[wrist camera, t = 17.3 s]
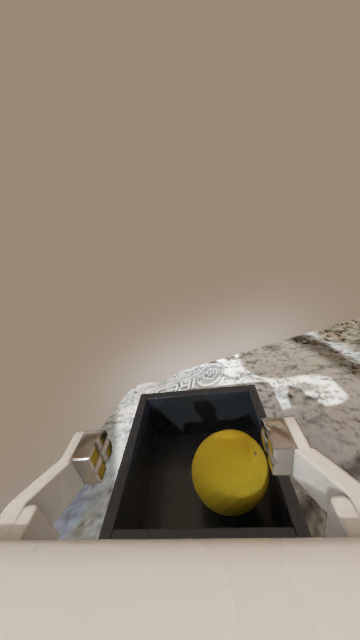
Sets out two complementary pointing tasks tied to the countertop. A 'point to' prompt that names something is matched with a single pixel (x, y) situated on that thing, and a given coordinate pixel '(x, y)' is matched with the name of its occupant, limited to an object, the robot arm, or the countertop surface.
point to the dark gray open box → (176, 472)
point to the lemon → (230, 472)
